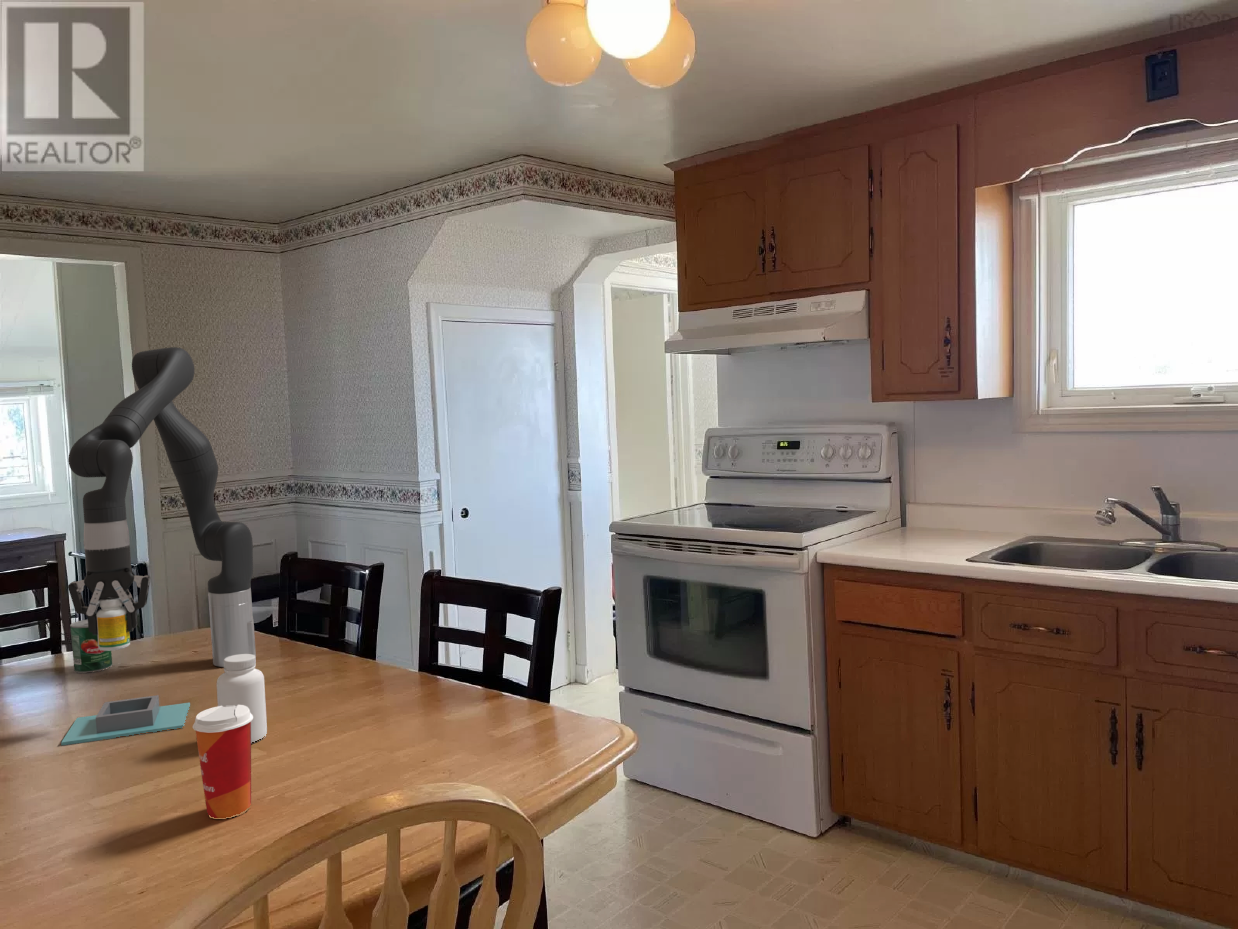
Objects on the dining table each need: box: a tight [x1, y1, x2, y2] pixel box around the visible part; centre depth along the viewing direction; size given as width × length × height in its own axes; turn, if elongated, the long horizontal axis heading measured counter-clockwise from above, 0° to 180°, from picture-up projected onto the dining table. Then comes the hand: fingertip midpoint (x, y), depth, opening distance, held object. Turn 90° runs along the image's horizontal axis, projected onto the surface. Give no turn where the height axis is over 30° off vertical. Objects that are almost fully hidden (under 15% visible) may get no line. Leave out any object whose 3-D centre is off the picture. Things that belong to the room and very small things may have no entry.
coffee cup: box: [192, 705, 253, 818], centre depth 135 cm, size 8×8×15 cm
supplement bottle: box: [96, 597, 131, 652], centre depth 174 cm, size 5×5×10 cm
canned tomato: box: [69, 619, 114, 674], centre depth 213 cm, size 8×8×11 cm
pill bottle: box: [216, 654, 268, 744], centre depth 165 cm, size 8×8×15 cm
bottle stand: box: [61, 694, 191, 747], centre depth 175 cm, size 20×14×4 cm
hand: (113, 632), depth 175 cm, fingers closed on supplement bottle, 5 cm apart
